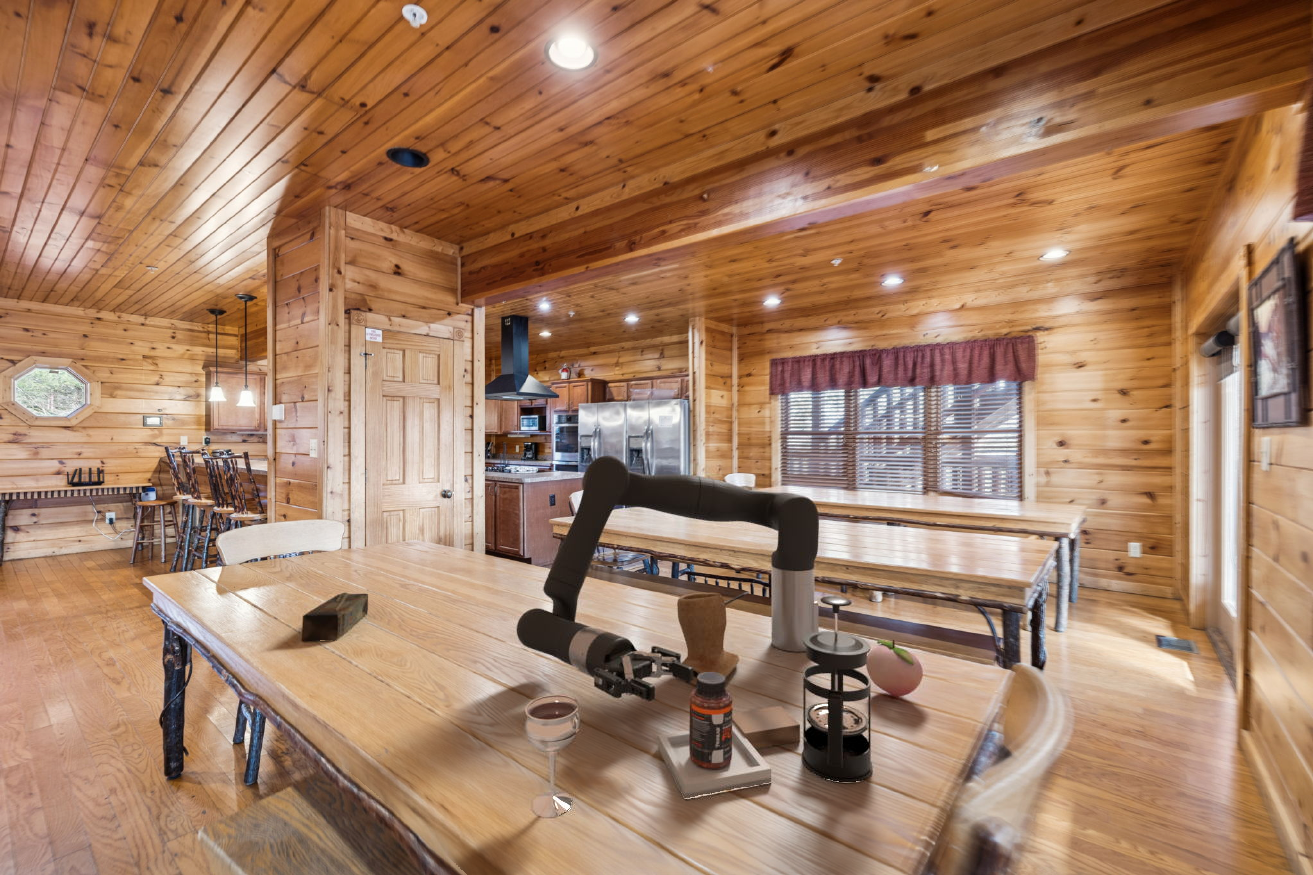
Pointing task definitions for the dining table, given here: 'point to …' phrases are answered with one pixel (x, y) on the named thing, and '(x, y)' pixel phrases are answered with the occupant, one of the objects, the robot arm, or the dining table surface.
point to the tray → (698, 780)
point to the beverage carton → (334, 617)
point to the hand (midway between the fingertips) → (673, 684)
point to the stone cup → (705, 634)
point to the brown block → (767, 726)
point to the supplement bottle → (710, 722)
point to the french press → (836, 705)
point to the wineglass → (552, 743)
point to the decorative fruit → (894, 669)
